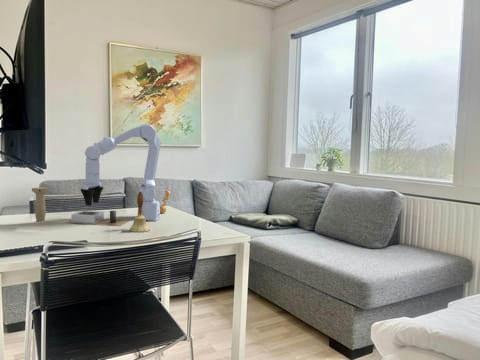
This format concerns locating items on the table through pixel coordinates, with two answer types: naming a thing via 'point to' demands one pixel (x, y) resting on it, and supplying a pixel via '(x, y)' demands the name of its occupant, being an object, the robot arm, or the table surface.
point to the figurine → (162, 207)
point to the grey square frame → (87, 217)
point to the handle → (40, 203)
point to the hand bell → (139, 217)
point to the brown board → (109, 221)
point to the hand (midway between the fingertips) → (92, 204)
